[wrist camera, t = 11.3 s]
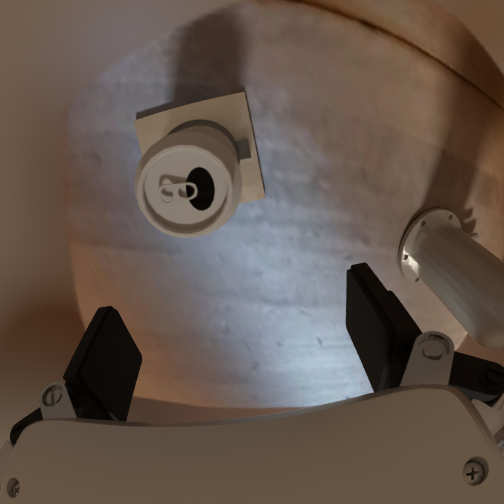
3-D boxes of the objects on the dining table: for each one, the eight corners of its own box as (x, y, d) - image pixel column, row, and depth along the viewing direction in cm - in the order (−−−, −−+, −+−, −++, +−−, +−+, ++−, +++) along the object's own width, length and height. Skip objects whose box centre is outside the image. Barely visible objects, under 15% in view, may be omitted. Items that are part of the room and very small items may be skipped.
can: (239, 193, 30) (247, 243, 19) (168, 200, 29) (138, 252, 19) (235, 122, 26) (240, 127, 16) (160, 130, 26) (118, 142, 15)
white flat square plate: (243, 92, 27) (245, 90, 25) (264, 196, 33) (267, 202, 31) (135, 120, 27) (129, 121, 25) (163, 218, 33) (159, 226, 31)
